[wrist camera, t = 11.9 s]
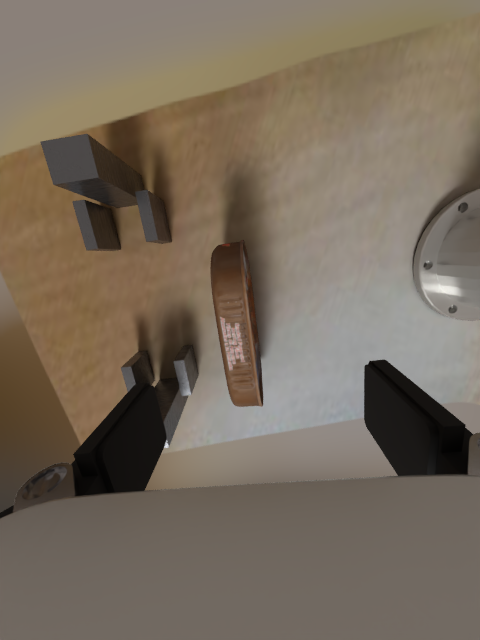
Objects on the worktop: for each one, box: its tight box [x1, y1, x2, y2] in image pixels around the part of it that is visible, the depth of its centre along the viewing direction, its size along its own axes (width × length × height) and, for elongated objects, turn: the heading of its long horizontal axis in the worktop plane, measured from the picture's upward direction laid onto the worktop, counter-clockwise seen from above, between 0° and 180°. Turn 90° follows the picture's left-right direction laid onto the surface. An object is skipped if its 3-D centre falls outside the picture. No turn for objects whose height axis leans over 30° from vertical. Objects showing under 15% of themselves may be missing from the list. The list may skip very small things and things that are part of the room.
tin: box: [211, 240, 263, 407], centre depth 22 cm, size 15×3×8 cm, turn 8°
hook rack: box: [41, 134, 198, 448], centre depth 22 cm, size 6×23×8 cm, turn 8°
